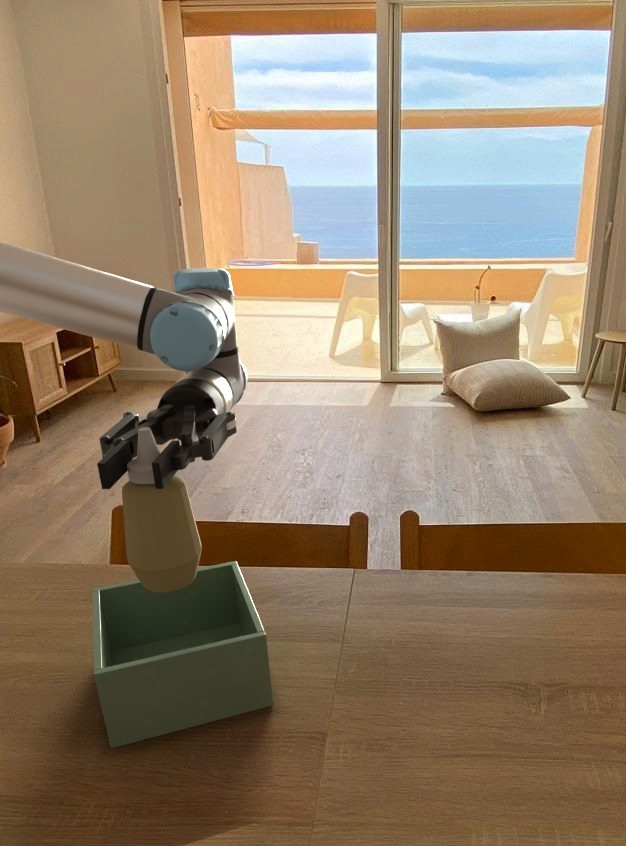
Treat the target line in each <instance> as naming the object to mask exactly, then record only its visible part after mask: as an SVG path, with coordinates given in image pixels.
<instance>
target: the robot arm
mask: <svg viewBox="0 0 626 846" xmlns="http://www.w3.org/2000/svg"><path fill="white" fill-rule="evenodd" d="M172 279H173V291H170V290H166V289H162V288H158V287H154V286H153V285H149V284H146V283H143V282H140V281H136V280H132V279H129V278H126V277H123V276H119V275H116V274H113V273H109V272H106V271H103V270H99V269H96V268H92V267H89V266H85V265H83V264H79V263H76V262H72V261H69V260H65V259H63V258H59V257H55V256H52V255H49V254H45V253H42V252H39V251H35V250H32V249H28V248H25V247H21V246H18V245H15V244H11V243H8V242H6V241H2V240H0V313H3V314H7V315H10V316H14V317H18V318H21V319H25V320H28V321H32V322H37V323H40V324H43V325H47V326H51V327H55V328H57V329H62V330H65V331H69V332H72V333H76V334H80V335H83V336H87V337H91V338H94V339H98V340H102V341H106V342H109V343H113V344H115V345H119V346H122V347H127V348H131V349H134V350H138V351H142V352H144V353H145V352H146V353H148V354H152V355H155V356H156V357H157V359H159V360H160V361H161V362H162V363H163V364H164V365H165V366H167V367H169V368H170V369H172V370H176V371H178V372H179V371H180V372H185V374H184V375H182V376H181V377H180V378H178V380H176V381H175V382H174V384H173V385H172V386H170V387H169V388H168V389H166V391H165V392H164V393H163V394H162V395H161V397H160V399H159V400H158V401H159V402H158V404H157V407H156V408H155V409H154V410H153V409H152V410H151V411H149V412H148V413H147V414H146V416H139V414H137V413H134V412H133V411H126V412H123V413H122V418H121V419H119V421H118V422H116V423H115V424H114V425H113V426H111V428H110V429H108V430H107V431H106V432H105V433H104V434H102V435H101V436H100V437H99V438H98V440H99V444H100V451H101V457H102V459H100V460H99V461H98V462H97V463H96V466H97V470H98V476H99V480H100V485H101V489H102V490H110V489H112V488H113V486H115V485H116V484H117V482H118V481H119V480H120V479H121V478H122V477H123V476H124V475H125V474H126V473H128V470H127V464H128V463H129V462H130V461H131V460H133V459H136V458H137V446H138V429H140V428H143V427H149V428H150V429H151V431H152V434H153V436H154V439H155V441H156V444H157V446H164V445H165V444H166V443H168V442H169V441H170V442H169V443H168V444H167V446H166V447H165V448H164V449H163V450H162V451H160V454H159V456H158V457H157V458H156V459H155V460H154V461H153V462H152V469H153V475H154V481H155V487H156V489H164V487H165V486H166V485H167V484H168V482H169V481H170V480H171V479H172V477H173V476H174V475H175V474H177V472H178V471H184V470H185V469H187V467H188V466H189V464H191V463H194V462H195V461H196V458H197V459H198V458H201V460H202V461H206V462H208V461H209V462H210V461H212V460H213V459H214V458H215V457H216V455H217V454H218V452H219V451H220V450H221V448H222V447H223V445H224V444H225V443H226V441H227V440H228V439H229V438H230V437H231V436H233V435H235V434H237V432H238V431H237V422H236V421H237V420H236V412H235V411H232V409H233V408H234V406H235V405H237V404H238V403H239V402H241V399H242V398H243V395H244V394H245V390H246V389H247V387H248V380H249V379H248V371H247V368H246V366H245V364H244V362H242V361H241V359H240V351H239V346H238V345H239V344H238V335H237V325H236V324H237V323H236V312H235V301H234V298H235V293H234V291H233V285H232V279H231V274H230V273H229V271H227V270H226V269H224V268H220V267H195V268H194V267H193V268H185V269H180V270H177V271H176V272H175V273H174V274H173V278H172Z"/></svg>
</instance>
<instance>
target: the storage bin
mask: <svg viewBox="0 0 626 846" xmlns="http://www.w3.org/2000/svg"><path fill="white" fill-rule="evenodd" d="M91 590H92V593H91V594H92V595H91V596H92V647H93V649H92V650H93V652H92V653H93V677H94V681H95V685H96V690H97V694H98V699H99V703H100V708H101V712H102V716H103V719H104V724H105V729H106V733H107V737H108V742H109V746H110V749H114V748H119V747H123V746H126V745H129V744H133V743H134V744H135V743H138V742H141V741H145V740H148V739H153V738H156V737H160V736H164V735H167V734H172V733H175V732H179V731H183V730H187V729H190V728H193V727H196V726H197V727H198V726H201V725H205V724H208V723H212V722H216V721H220V720H224V719H227V718H231V717H235V716H239V715H242V714H246V713H250V712H253V711H257V710H261V709H265V708H268V707H273V706H274V698H273V697H274V696H273V688H272V678H271V669H270V660H269V649H268V639H267V634H266V632H265V629H264V626H263V624H262V621H261V619H260V616H259V613H258V611H257V609H256V606H255V604H254V601H253V599H252V596H251V594H250V591H249V588H248V587H247V584H246V581H245V579H244V577H243V574H242V572H241V569H240V566H239V564H238V561H236V560H234V561H229V562H223V563H219V564H218V563H217V564H213V565H208V566H203V567H198V569H197V574H196V577H195V579H194V580H193V582H192V583H190V584H189V585H187V586H186V587H184V588H181V589H178V590H176V591H170V592H153V591H150V590H147V589H145V587H144V586H143V585H142V584H141V582H140V581H139V579H137V580H132V581H131V580H130V581H127V582H126V581H125V582H121V583H116V584H111V585H106V586H105V585H104V586H101V587H94V588H92V589H91Z"/></svg>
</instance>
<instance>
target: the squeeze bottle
mask: <svg viewBox="0 0 626 846" xmlns="http://www.w3.org/2000/svg"><path fill="white" fill-rule="evenodd" d="M160 453H161V450H160V449H159V445H157V444H156V441H155V439H154V436H153V434H152V431H151V429H150V428H149V427H143V428H140V429H138V446H137V456H136V457H135V458H133V459H132V460H131V461H130V462H129V463H128V464H127V470H128V471H127V476H128V481H127V482H126V483H125V484H124V485H122V487H121V498H122V513H123V523H124V524H123V527H124V538H125V539H124V540H125V552H126V562H127V563H128V565H129V566H130V569H131V570H132V571H133V573H134V574H135V576H136V578H137V580H139V581H140V582H141V584H142V585H143V586H144V587H145V589H147V590H150V591H153V592H170V591H176V590H178V589H181V588H184V587H186V586H187V585H189V584H190V583H192V582H193V580H194V579H195V577H196V574H197V569H198V568H199V565H200V560H201V555H202V551H203V548H202V541H201V538H200V534H199V530H198V526H197V523H196V518H195V515H194V511H193V508H192V503H191V499H190V495H189V491H188V487H187V483H186V480H185V478H183V477H182V476H180V475H179V474H177V473H175V475H174V476H173V477H172V479H171V480H170V481H169V482H168V484H167V485H166V486H165V487H164V489H156V487H155V481H154V475H153V469H152V462H153V461H154V460H155V459H156V458H157V457H158V456H159V454H160Z"/></svg>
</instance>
